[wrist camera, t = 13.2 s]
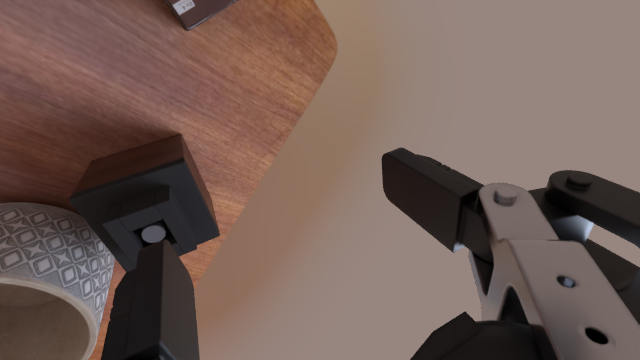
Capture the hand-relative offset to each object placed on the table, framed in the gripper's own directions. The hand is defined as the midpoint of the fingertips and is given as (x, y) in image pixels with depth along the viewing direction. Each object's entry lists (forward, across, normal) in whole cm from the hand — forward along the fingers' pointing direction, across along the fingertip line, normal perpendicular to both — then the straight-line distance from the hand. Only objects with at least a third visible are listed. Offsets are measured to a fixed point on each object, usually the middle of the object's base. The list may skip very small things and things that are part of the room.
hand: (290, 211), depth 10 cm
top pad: (+20, +10, +10) cm, 25 cm away
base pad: (+22, +10, +10) cm, 26 cm away
